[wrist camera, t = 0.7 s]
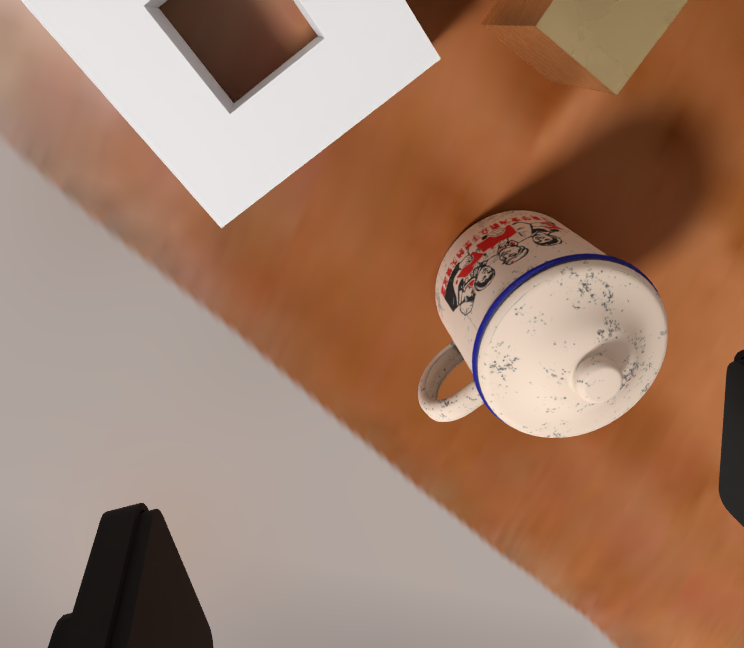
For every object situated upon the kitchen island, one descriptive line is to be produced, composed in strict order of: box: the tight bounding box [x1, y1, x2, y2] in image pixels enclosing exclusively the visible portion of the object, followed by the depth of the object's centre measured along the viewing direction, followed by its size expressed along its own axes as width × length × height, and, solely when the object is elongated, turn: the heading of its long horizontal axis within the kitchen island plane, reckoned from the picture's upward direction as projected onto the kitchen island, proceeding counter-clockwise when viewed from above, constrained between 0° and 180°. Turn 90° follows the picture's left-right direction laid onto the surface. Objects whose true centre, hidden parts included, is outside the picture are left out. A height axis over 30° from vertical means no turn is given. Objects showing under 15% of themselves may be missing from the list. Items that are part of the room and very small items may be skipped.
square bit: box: [481, 0, 688, 95], centre depth 28 cm, size 4×4×7 cm
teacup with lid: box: [418, 210, 668, 438], centre depth 32 cm, size 12×9×12 cm
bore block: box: [21, 0, 440, 228], centre depth 28 cm, size 12×12×4 cm
